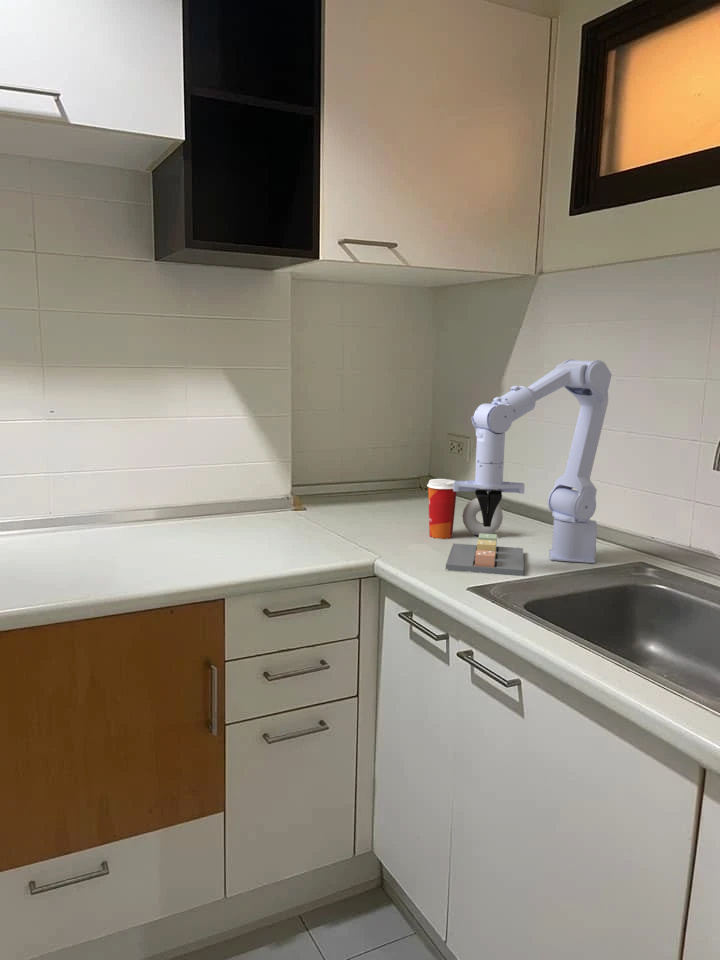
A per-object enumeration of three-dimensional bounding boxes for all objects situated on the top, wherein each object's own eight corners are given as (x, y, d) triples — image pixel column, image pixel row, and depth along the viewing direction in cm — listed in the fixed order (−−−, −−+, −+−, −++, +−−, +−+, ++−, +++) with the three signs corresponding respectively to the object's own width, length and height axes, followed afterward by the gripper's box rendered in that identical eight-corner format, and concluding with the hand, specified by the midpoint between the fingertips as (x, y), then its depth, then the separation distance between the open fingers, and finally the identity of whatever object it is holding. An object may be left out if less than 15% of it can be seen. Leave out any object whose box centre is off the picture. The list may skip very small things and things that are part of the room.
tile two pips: (495, 554, 166) (496, 540, 165) (495, 559, 162) (495, 544, 161) (477, 553, 167) (478, 539, 166) (476, 558, 163) (477, 543, 162)
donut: (461, 536, 186) (463, 497, 184) (461, 533, 189) (462, 494, 188) (502, 538, 185) (504, 499, 183) (501, 535, 188) (503, 496, 187)
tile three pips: (494, 565, 160) (495, 550, 160) (493, 570, 156) (494, 555, 156) (475, 564, 161) (476, 549, 160) (474, 569, 157) (475, 554, 157)
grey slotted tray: (522, 553, 172) (523, 548, 171) (523, 575, 154) (523, 570, 154) (452, 548, 175) (453, 543, 175) (445, 570, 157) (445, 564, 157)
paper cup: (438, 531, 192) (440, 477, 189) (462, 536, 186) (464, 481, 184) (418, 536, 186) (420, 480, 184) (443, 541, 181) (445, 484, 178)
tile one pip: (496, 547, 172) (497, 533, 171) (495, 552, 168) (496, 538, 167) (478, 546, 172) (479, 532, 172) (477, 551, 169) (478, 536, 168)
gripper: (522, 460, 158) (519, 522, 161) (453, 458, 159) (451, 520, 162) (527, 465, 151) (523, 530, 154) (455, 463, 152) (452, 527, 155)
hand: (486, 525), depth 157 cm, fingers closed
